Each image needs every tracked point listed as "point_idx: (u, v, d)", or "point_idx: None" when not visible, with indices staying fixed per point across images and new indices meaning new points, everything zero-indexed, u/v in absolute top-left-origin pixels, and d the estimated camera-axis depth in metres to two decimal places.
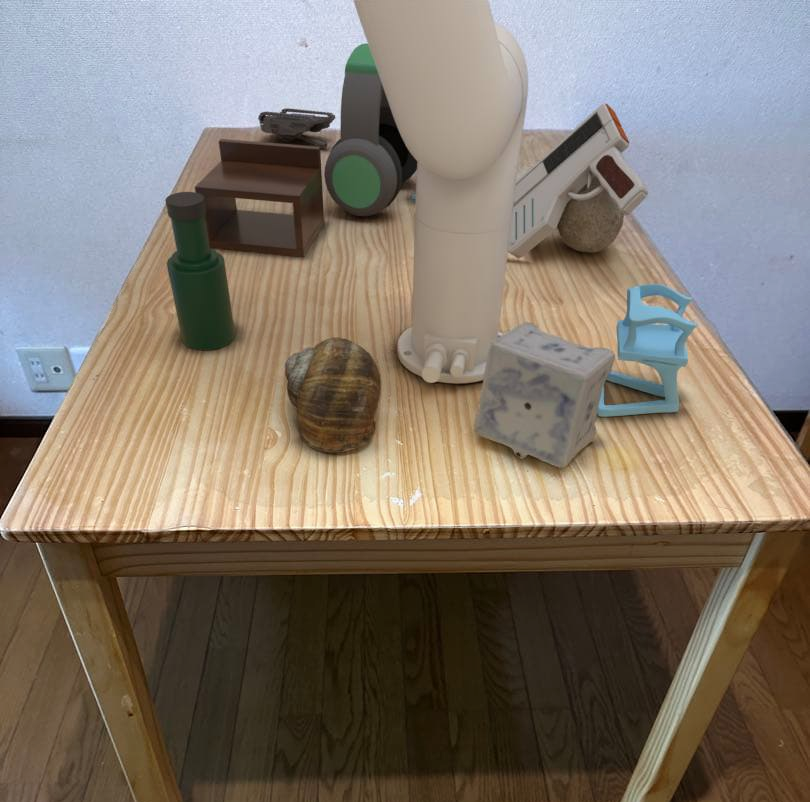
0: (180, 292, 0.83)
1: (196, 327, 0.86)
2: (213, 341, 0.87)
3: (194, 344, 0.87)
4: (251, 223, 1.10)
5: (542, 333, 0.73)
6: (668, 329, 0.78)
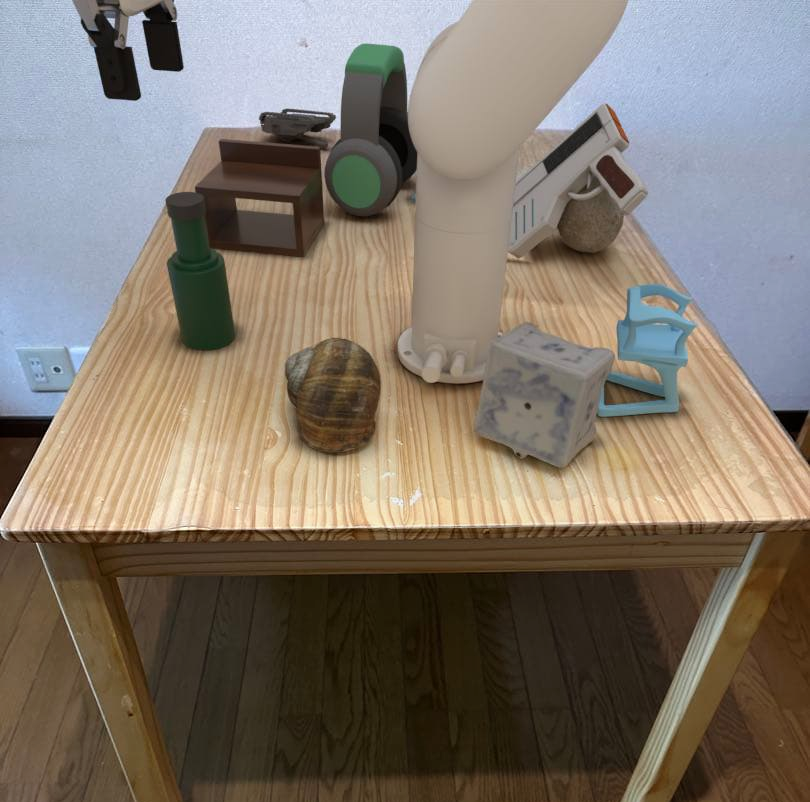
0: (180, 292, 0.83)
1: (196, 327, 0.86)
2: (213, 341, 0.87)
3: (194, 344, 0.87)
4: (251, 223, 1.10)
5: (542, 333, 0.73)
6: (668, 329, 0.78)
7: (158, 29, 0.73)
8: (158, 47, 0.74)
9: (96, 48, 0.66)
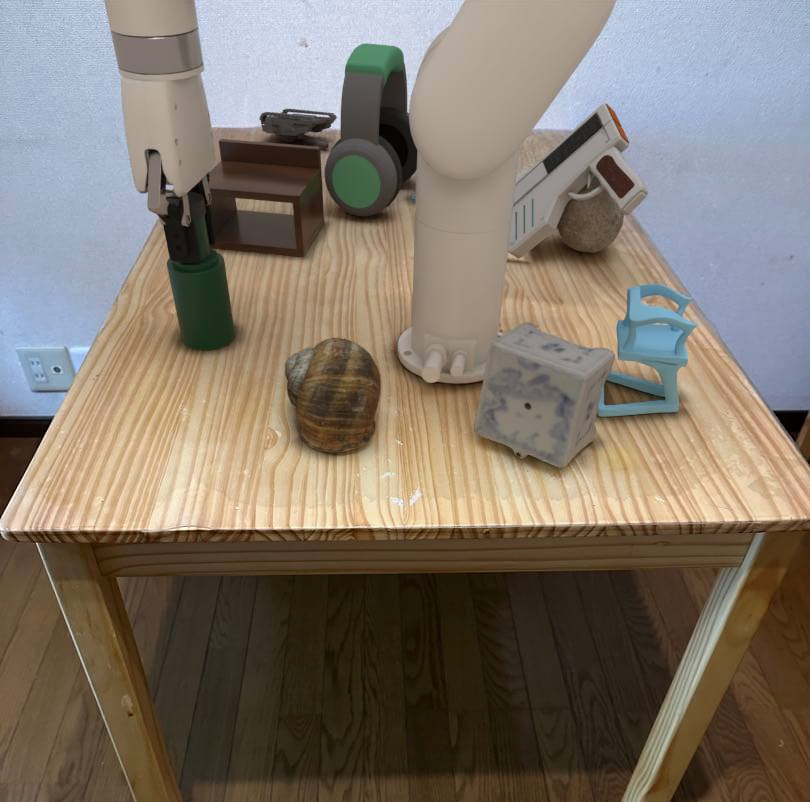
0: (179, 292, 0.83)
1: (196, 327, 0.86)
2: (213, 341, 0.87)
3: (194, 344, 0.87)
4: (251, 223, 1.10)
5: (542, 333, 0.73)
6: (668, 329, 0.78)
7: None
8: None
9: None
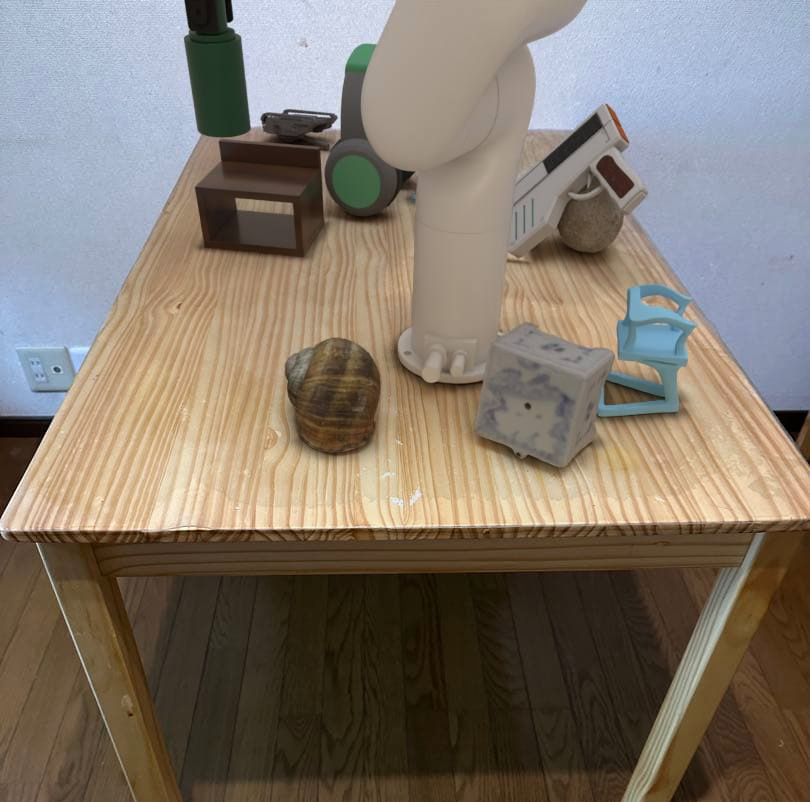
0: (197, 68, 0.83)
1: (213, 110, 0.85)
2: (230, 127, 0.87)
3: (211, 130, 0.87)
4: (251, 223, 1.10)
5: (542, 333, 0.73)
6: (668, 329, 0.78)
7: None
8: None
9: None
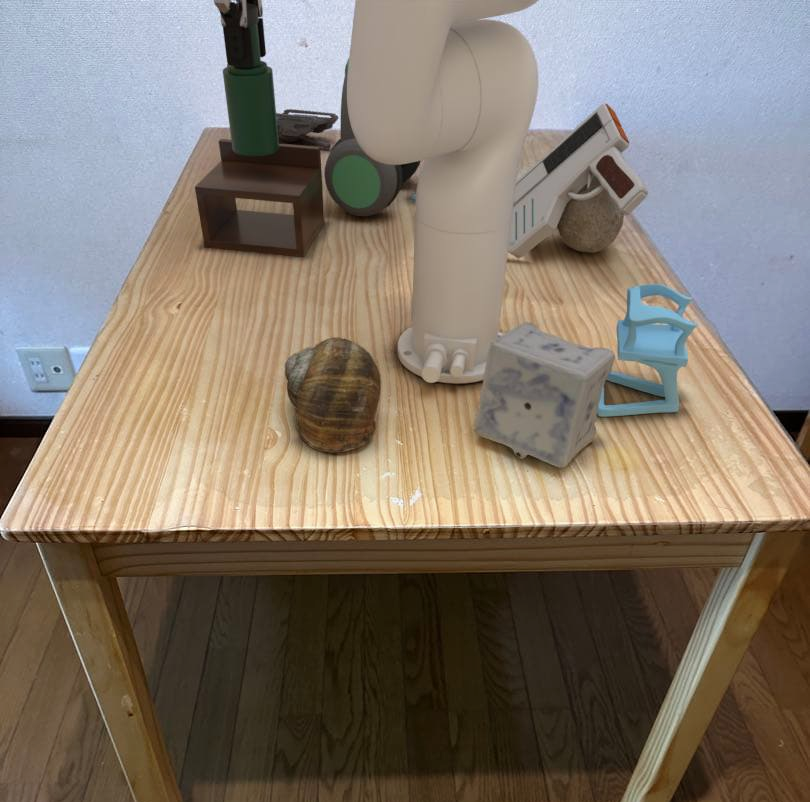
0: (234, 97, 0.95)
1: (246, 132, 0.98)
2: (261, 147, 0.99)
3: (244, 150, 0.99)
4: (251, 223, 1.10)
5: (542, 333, 0.73)
6: (668, 329, 0.78)
7: None
8: None
9: (224, 27, 0.90)
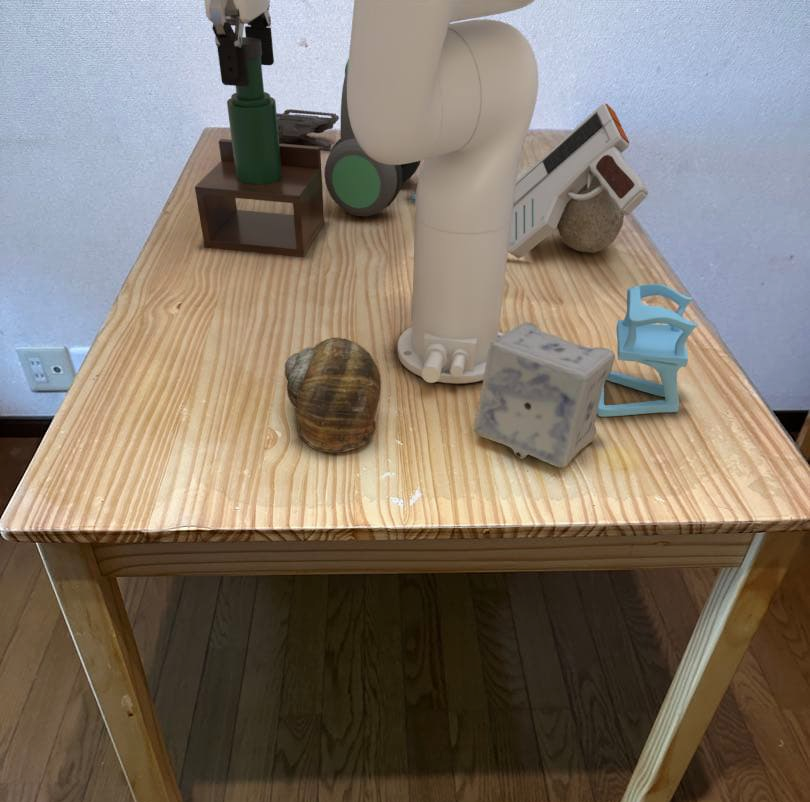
0: (238, 127, 0.98)
1: (250, 161, 1.00)
2: (264, 175, 1.01)
3: (248, 178, 1.02)
4: (251, 223, 1.10)
5: (542, 333, 0.73)
6: (668, 329, 0.78)
7: (257, 33, 0.96)
8: None
9: (219, 47, 0.90)
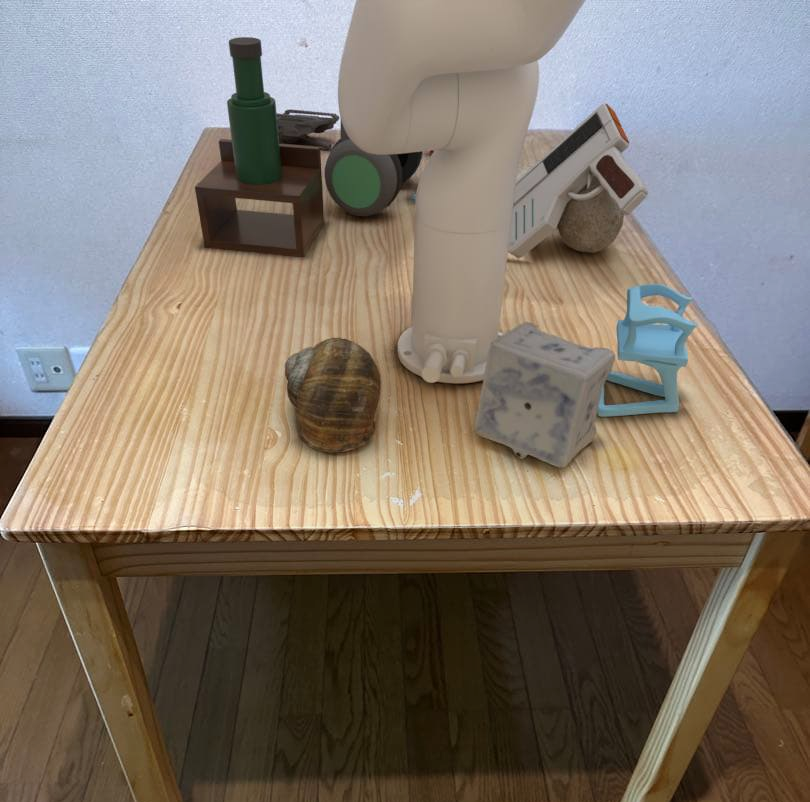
0: (238, 127, 0.98)
1: (250, 161, 1.00)
2: (264, 175, 1.01)
3: (248, 178, 1.02)
4: (251, 223, 1.10)
5: (542, 333, 0.73)
6: (668, 329, 0.78)
7: None
8: None
9: None
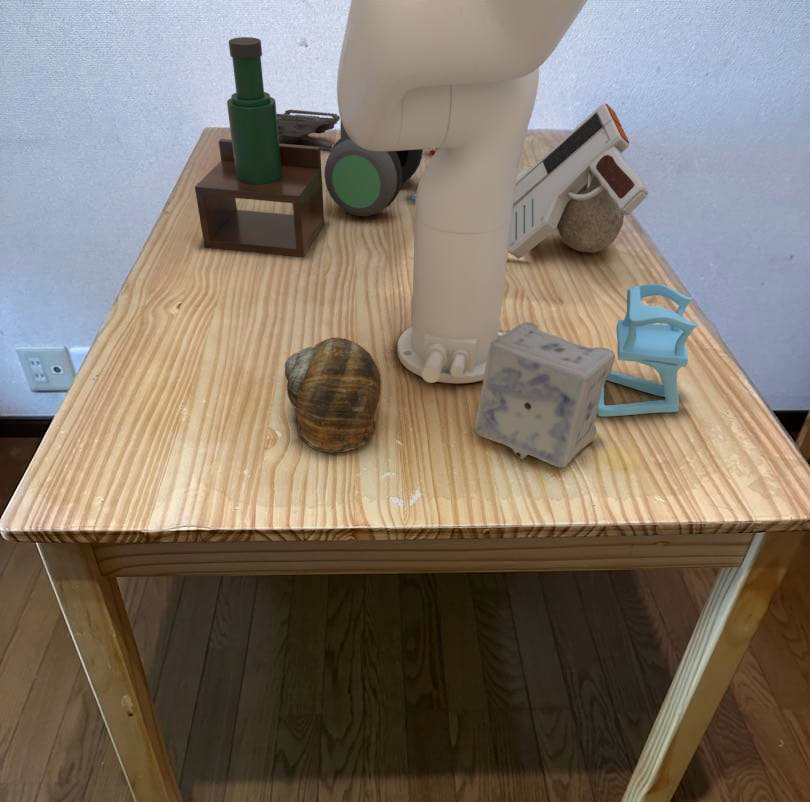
0: (238, 127, 0.98)
1: (250, 161, 1.00)
2: (264, 175, 1.01)
3: (248, 178, 1.02)
4: (251, 223, 1.10)
5: (542, 333, 0.73)
6: (668, 329, 0.78)
7: None
8: None
9: None
